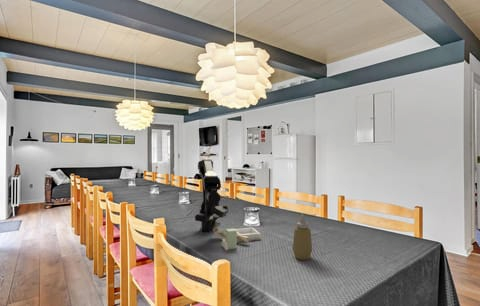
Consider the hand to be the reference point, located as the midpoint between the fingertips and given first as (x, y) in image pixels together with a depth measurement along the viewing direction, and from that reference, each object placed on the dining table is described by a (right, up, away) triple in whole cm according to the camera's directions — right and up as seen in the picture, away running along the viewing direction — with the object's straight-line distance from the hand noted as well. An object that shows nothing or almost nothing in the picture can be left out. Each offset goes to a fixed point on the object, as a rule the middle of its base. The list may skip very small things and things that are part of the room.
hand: (210, 231), depth 136 cm
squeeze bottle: (+40, -5, -22) cm, 46 cm away
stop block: (+10, -4, -10) cm, 15 cm away
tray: (+18, -4, +4) cm, 19 cm away
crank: (+9, -2, -1) cm, 9 cm away
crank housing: (+10, -4, -6) cm, 13 cm away
